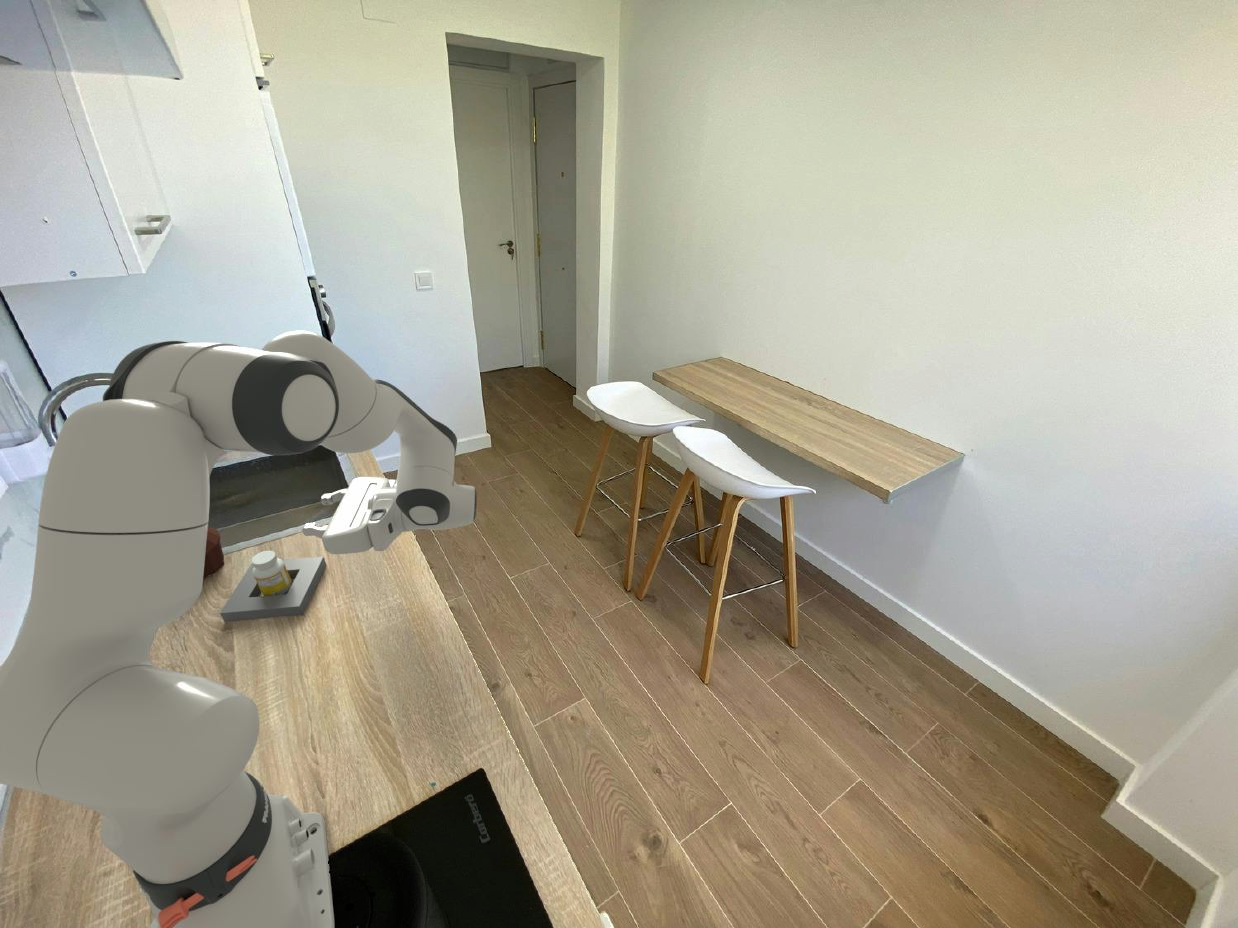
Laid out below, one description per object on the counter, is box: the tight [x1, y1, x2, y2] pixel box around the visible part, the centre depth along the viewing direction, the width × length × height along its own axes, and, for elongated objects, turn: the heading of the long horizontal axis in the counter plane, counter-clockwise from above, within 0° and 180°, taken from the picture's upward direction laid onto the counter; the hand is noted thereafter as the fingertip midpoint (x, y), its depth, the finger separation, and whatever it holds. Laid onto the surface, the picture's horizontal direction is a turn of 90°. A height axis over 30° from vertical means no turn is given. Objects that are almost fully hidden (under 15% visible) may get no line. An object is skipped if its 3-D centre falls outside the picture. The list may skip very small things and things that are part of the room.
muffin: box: [203, 525, 225, 580], centre depth 106 cm, size 12×11×10 cm
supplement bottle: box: [251, 550, 293, 596], centre depth 101 cm, size 5×5×10 cm
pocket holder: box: [219, 556, 327, 623], centre depth 103 cm, size 14×14×2 cm
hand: (313, 514), depth 95 cm, fingers open, 8 cm apart
